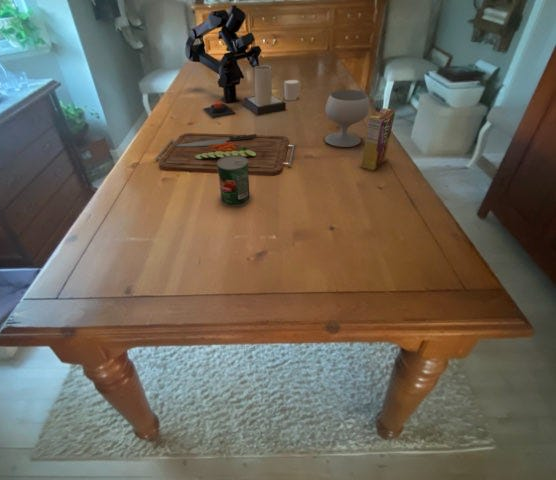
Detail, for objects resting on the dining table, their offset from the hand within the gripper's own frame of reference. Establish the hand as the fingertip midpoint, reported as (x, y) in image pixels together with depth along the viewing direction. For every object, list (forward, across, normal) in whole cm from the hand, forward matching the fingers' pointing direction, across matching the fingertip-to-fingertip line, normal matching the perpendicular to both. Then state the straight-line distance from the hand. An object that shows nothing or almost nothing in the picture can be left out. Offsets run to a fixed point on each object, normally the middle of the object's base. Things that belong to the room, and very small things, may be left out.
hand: (251, 75), depth 142 cm
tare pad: (+4, -13, +14) cm, 20 cm away
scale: (+12, +3, +6) cm, 13 cm away
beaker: (+11, 0, +2) cm, 11 cm away
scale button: (+2, -13, +12) cm, 18 cm away
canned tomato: (+45, -54, -27) cm, 76 cm away
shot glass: (+12, +20, +6) cm, 24 cm away
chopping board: (+28, -38, -10) cm, 48 cm away
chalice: (+44, -3, -26) cm, 51 cm away
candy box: (+56, -11, -38) cm, 69 cm away
